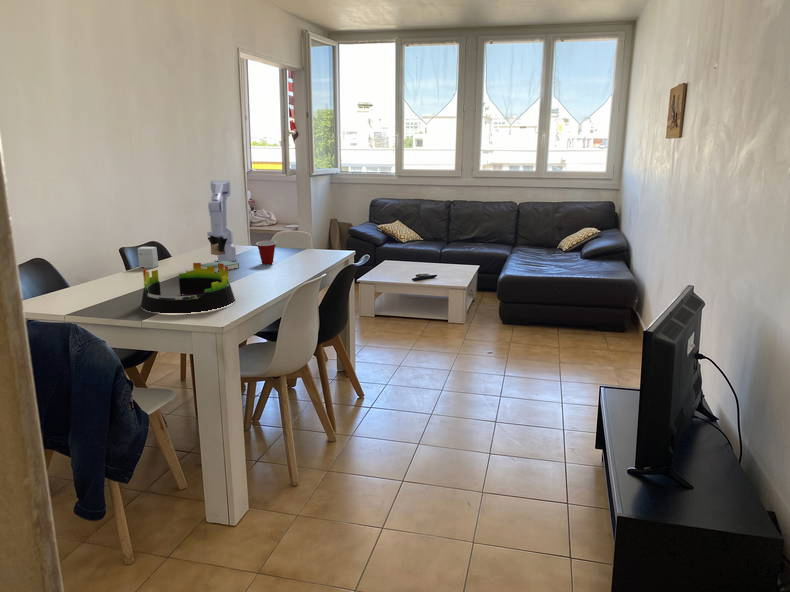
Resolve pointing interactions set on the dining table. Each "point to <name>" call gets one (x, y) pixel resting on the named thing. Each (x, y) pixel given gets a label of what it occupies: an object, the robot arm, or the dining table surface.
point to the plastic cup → (266, 251)
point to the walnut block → (216, 250)
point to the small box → (147, 257)
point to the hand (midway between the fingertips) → (218, 251)
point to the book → (226, 263)
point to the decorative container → (189, 291)
